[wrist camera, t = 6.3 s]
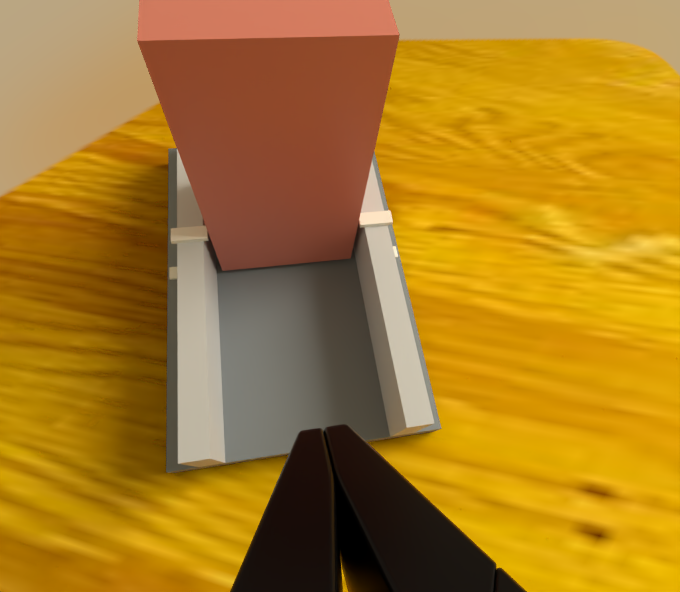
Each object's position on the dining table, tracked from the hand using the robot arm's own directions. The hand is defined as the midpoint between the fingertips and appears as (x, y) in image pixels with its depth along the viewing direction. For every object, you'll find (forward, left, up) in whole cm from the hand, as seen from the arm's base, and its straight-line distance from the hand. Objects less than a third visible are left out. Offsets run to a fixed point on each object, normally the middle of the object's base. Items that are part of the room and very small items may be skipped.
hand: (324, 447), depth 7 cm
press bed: (+8, +2, -11) cm, 14 cm away
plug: (+10, +3, -10) cm, 14 cm away
